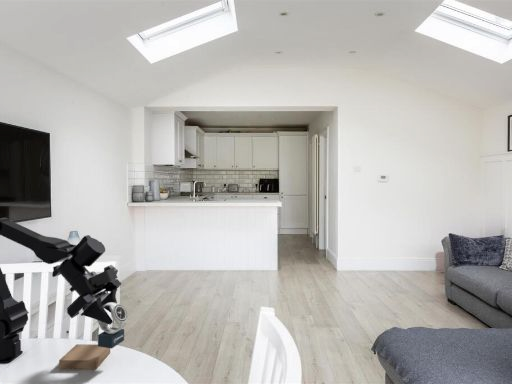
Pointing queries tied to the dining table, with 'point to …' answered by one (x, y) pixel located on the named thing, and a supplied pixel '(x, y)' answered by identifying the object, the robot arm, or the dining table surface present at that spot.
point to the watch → (113, 335)
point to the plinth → (84, 357)
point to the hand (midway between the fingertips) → (116, 319)
